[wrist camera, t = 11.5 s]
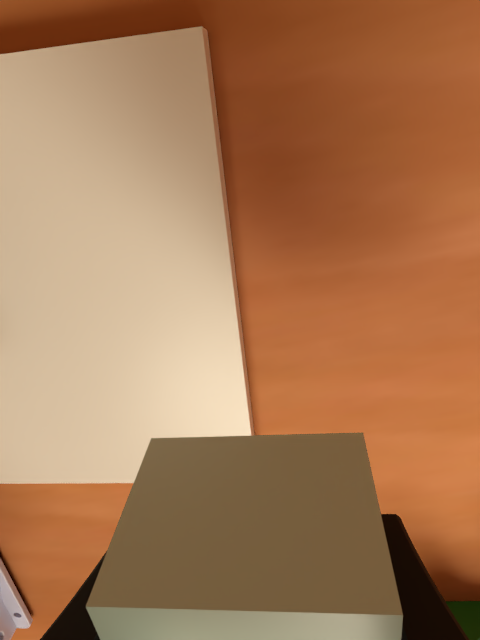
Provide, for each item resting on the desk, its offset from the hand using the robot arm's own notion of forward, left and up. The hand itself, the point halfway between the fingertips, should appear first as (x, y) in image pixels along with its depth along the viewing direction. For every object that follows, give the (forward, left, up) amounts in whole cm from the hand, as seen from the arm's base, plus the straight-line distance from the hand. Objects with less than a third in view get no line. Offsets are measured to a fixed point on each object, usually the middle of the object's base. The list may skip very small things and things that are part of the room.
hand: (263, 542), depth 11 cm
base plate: (+3, +10, -9) cm, 14 cm away
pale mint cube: (0, 0, -1) cm, 1 cm away
